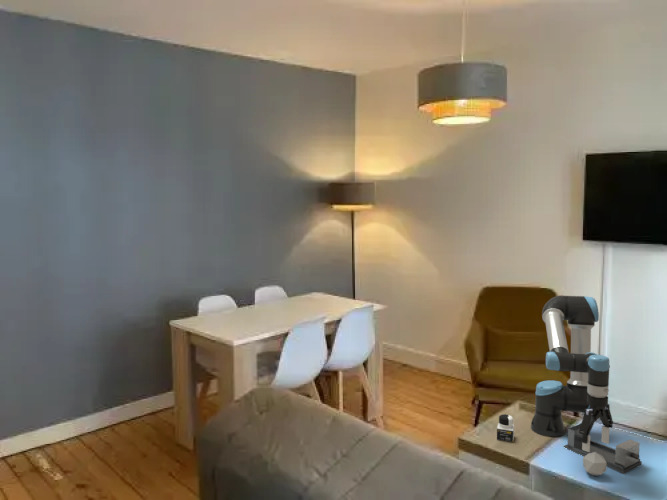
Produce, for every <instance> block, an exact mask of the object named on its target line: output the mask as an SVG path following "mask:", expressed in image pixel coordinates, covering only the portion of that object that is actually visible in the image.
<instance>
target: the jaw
mask: <svg viewBox="0 0 667 500" xmlns="http://www.w3.org/2000/svg"><path fill="white" fill-rule="evenodd" d="M640 444H641V443H640V442H639V441H635V440H633V439H628V440H626V441H623V442H621V443H619V444H617V445H615V449H616V453H615V464H618V465H620V466H623V467H624V468H626V467H628V466H630V465H632V464H634V463H636V462H638V461H639V459H640V447H641V446H640Z"/></svg>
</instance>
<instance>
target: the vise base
mask: <svg viewBox="0 0 667 500" xmlns="http://www.w3.org/2000/svg"><path fill="white" fill-rule="evenodd" d="M580 427H581V423H579V424H576V425H573V426H572V427H569V428H567V444H565V445H563V446H562V447H565V448H567V449H566V450H568V451H570V450H571V451H570V452H572V451H573V452H572V453H574V452H575V453H574V454H577V455H579V454H580V455H579V456H581V455H582V457H583V456H586V455H587V454H589V453H593V452H596V453H598V454H600V455H601V456H603V458H604V459H605V461H606V462H607V469H610V470H613V471H616V472H617V473H619V474H622V475H625V474H627V473H630V472H631V471H632V470H634V469H636V468H638V467H641V466H642V465H643V463H642V461H641V458H639V461H638V462H636V463H634V464H632V465H630V466H628V467H626V468H624V467H623V466H620V465H618V464H615V453H616V448H613V447H610V446H608V445H605V444H602V443H601V442H597V441H595V440H592V439H590V452H587V451H584V450H582V439H583V435H582V434H580V433H579V430H580ZM565 448H564V449H565Z"/></svg>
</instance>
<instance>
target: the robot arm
mask: <svg viewBox="0 0 667 500" xmlns="http://www.w3.org/2000/svg"><path fill="white" fill-rule="evenodd" d="M541 317H542V321H543V322H544V324H545V328H546V329H545V330H546V336H547V342H548V349H549V351H547V352H546V353H545V367H546V369H547V370H550V371H556V372H570V375H569V376H570V378H569V379H568V380H567V381H566V385H563V382H561V381H558V380H548V379H547V380H543V381H540V382H538V383H537V384H536V386H535V406H534V407H535V408H534V409H535V410H534V411H535V412H534V415H533V417H532V419H531V422H530V429H531V431H532V432H534V433H536V434H538V435H541V436H544V437H555V438H556V437H561V436H563V435H565V433H566V432H565V429H566V428H565V424H564V421H563V418H562V412H571V413H573V412H574V413H582V414H583V417H582V420H581V423H580V424H581V427H580V430H579V433H580V434H582V435H583V439H582V450H584V451H587V452H590V440H591V435H590V433H591V431H592V430H593V426H594V424H595V422H597V420H598V419H599V420H600V421H601V423H602V425H601V442H600V443H605V444H608V445H609V444H610V429H613V425H614V421H613V417H612V414H611V409H610V404H609V396H608V395H609V392H610V389H609V385H610V368H611V365H610V358H609V357H608V356H605V355H603V354H597V353H595V352H592V351H591V349H592V347H591V346H592V340H591V339H592V328H594V327H595V326H596V325H595V323H598V322H599V319H600V318H599V317H600V314H599V306H598V302H597V301H596V299H595V298H594V297H593V296H587V295H586V296H585V295H584V296H583V295H562V294H561V295H556V296H554V297H551V298H550V299H549V300H548V301H547V302H545V304H544V306H543V307H542V311H541ZM564 321H567V325H568V326H569V327H570V352H569V345H568V342H567V341H568V340H567V337H566V330H565V326H564Z"/></svg>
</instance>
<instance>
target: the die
mask: <svg viewBox="0 0 667 500" xmlns="http://www.w3.org/2000/svg"><path fill="white" fill-rule="evenodd" d="M582 465H583V467H584V470H585V472H587V473H588V474H590V475H592V476H594V475H595V477H597V476H601V475H603V474H604V473H605V472H606V471H607V469H608V467H607V462H606V461H605V459H604V458H603V456H601V455H600V454H598V453H596V452H593V453H589V454H587V455H586V456H584V457H583V456H582Z"/></svg>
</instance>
